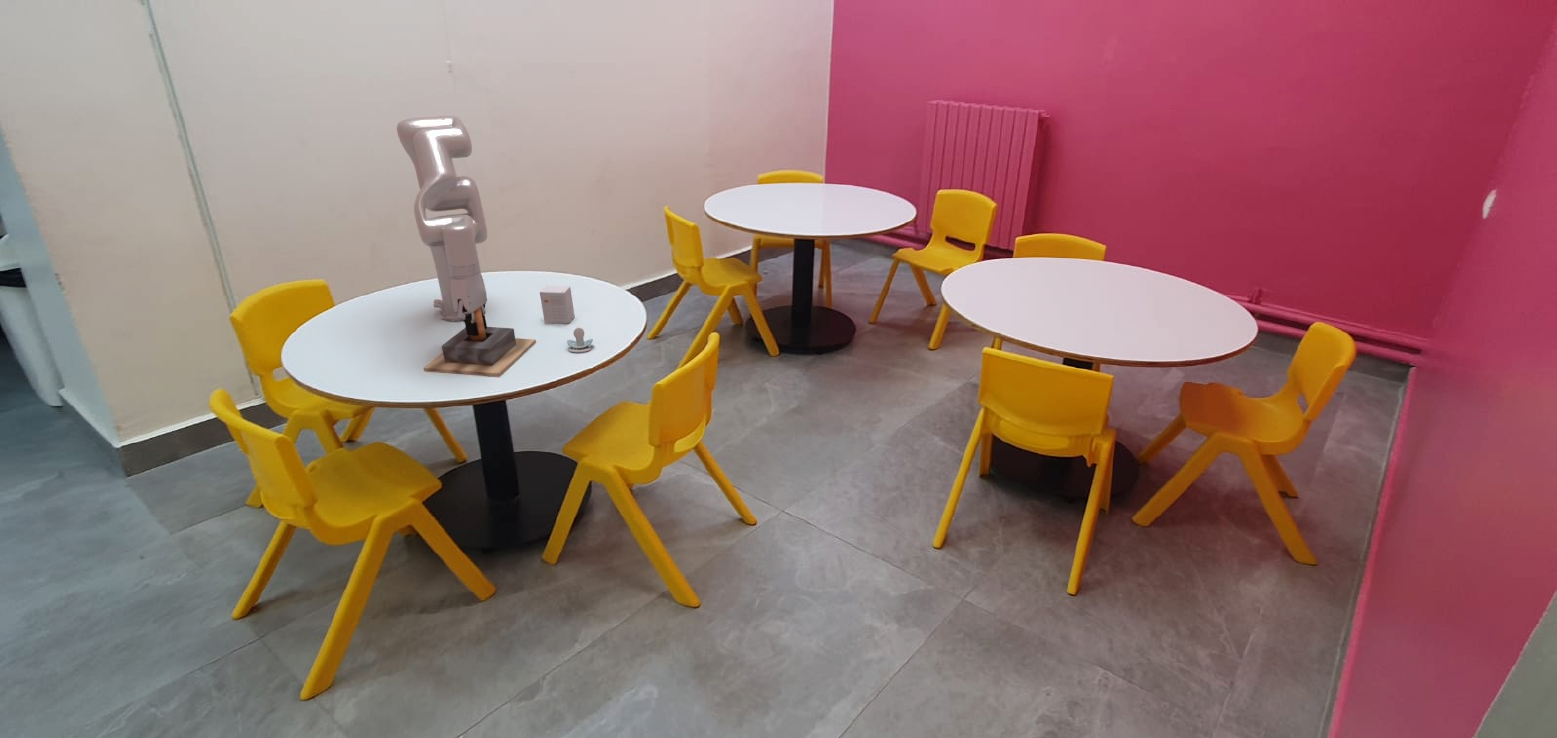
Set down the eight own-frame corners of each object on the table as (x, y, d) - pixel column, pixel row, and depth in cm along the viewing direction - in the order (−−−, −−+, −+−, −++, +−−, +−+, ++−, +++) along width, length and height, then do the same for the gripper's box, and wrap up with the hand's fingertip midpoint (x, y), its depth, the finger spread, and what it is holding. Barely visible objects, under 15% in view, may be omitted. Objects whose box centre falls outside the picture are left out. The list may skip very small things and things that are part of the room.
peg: (469, 347, 206) (461, 307, 201) (477, 341, 210) (469, 302, 204) (483, 348, 206) (475, 308, 200) (490, 342, 209) (482, 303, 204)
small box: (575, 317, 235) (571, 286, 230) (569, 324, 230) (564, 292, 225) (550, 316, 235) (546, 285, 231) (544, 323, 231) (539, 291, 226)
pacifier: (591, 353, 212) (594, 344, 217) (589, 334, 209) (592, 325, 214) (565, 354, 211) (569, 345, 216) (562, 335, 208) (566, 325, 213)
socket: (424, 370, 201) (419, 350, 198) (466, 337, 221) (462, 319, 218) (500, 376, 198) (496, 356, 196) (536, 342, 218) (533, 323, 215)
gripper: (468, 258, 206) (479, 319, 214) (434, 278, 191) (448, 343, 199) (493, 259, 205) (504, 321, 213) (461, 280, 190) (474, 345, 198)
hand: (477, 331), depth 206 cm, fingers closed on peg, 3 cm apart
